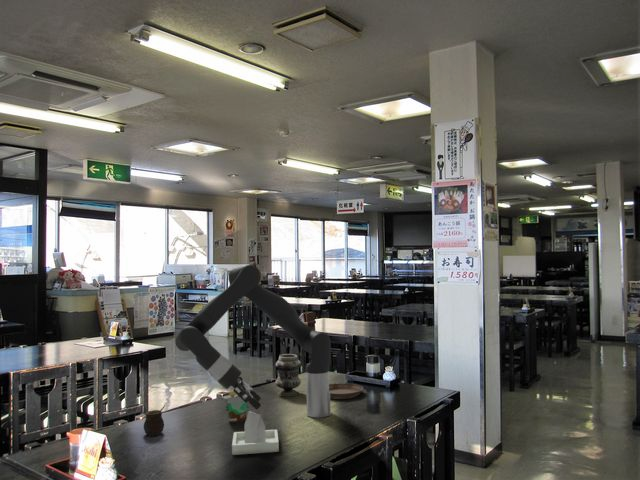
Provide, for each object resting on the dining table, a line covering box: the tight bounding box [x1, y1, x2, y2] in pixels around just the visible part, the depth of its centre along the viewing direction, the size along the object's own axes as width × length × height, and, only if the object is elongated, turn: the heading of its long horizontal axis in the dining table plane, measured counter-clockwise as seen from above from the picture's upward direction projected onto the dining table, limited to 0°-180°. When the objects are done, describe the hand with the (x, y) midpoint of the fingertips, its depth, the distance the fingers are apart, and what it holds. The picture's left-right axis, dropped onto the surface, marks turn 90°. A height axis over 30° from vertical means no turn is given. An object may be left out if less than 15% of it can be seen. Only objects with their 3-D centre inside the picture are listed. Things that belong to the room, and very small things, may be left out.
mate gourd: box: [143, 405, 166, 437], centre depth 186 cm, size 7×8×10 cm
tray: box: [231, 428, 280, 456], centre depth 171 cm, size 15×13×3 cm
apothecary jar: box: [275, 353, 302, 398], centre depth 239 cm, size 12×12×18 cm
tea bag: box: [244, 410, 266, 443], centre depth 171 cm, size 4×7×10 cm, turn 44°
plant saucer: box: [329, 382, 364, 400], centre depth 235 cm, size 21×21×3 cm
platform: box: [223, 390, 236, 409], centre depth 221 cm, size 12×18×7 cm, turn 134°
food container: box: [227, 394, 248, 424], centre depth 201 cm, size 12×6×10 cm, turn 168°
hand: (259, 403), depth 172 cm, fingers open, 8 cm apart
